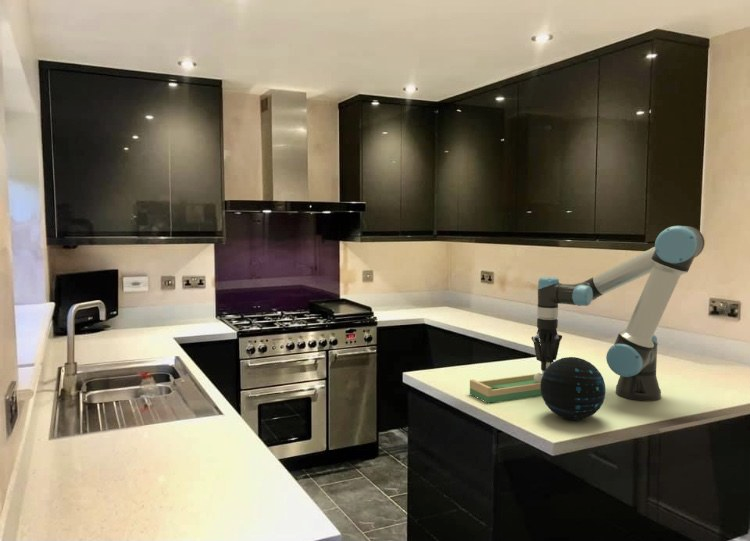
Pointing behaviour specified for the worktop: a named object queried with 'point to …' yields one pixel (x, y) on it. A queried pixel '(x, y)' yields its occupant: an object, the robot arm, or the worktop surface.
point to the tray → (505, 388)
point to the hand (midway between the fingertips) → (545, 378)
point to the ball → (538, 377)
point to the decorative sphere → (573, 388)
